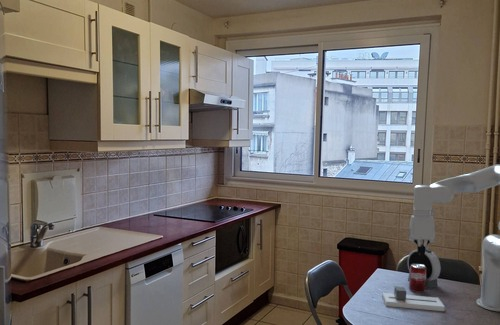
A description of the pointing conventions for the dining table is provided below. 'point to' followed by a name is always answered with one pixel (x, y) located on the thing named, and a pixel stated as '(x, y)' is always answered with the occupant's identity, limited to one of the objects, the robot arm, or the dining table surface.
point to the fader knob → (400, 293)
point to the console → (414, 302)
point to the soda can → (417, 278)
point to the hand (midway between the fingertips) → (421, 254)
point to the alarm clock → (430, 263)
